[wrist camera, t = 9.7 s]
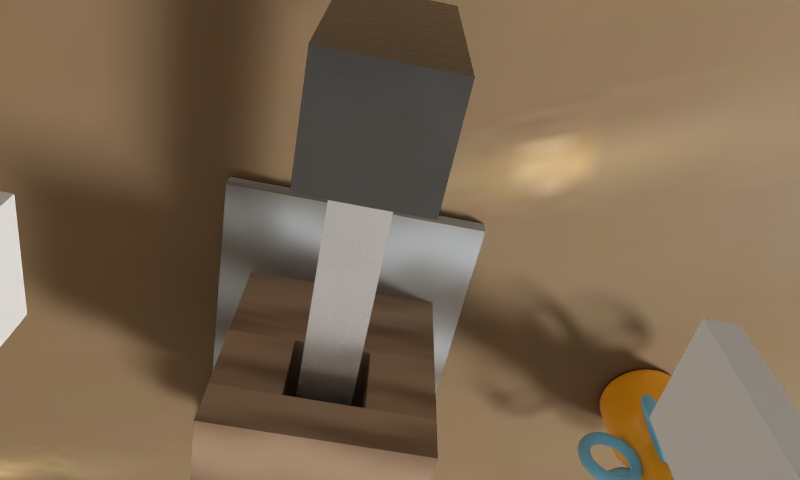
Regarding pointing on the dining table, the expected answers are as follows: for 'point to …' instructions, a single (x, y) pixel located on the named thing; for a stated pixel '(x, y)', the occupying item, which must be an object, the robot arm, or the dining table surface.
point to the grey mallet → (372, 158)
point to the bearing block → (285, 338)
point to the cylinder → (629, 428)
